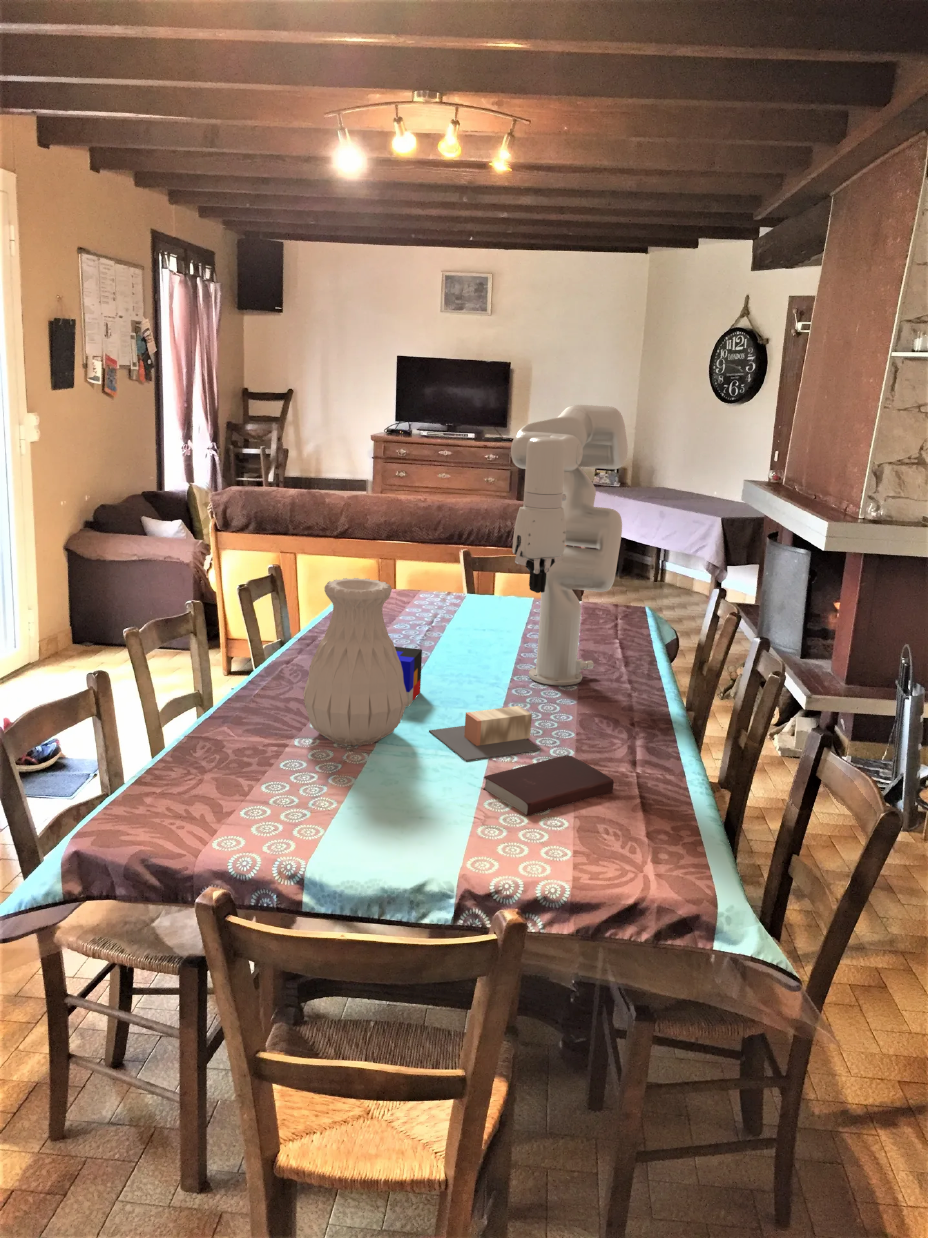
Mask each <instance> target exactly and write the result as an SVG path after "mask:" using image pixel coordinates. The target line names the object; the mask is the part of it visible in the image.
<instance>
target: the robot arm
mask: <svg viewBox="0 0 928 1238" xmlns="http://www.w3.org/2000/svg"><path fill="white" fill-rule="evenodd" d="M628 450H629V449H628V439H627V430H626V425H625V420H624V417H623V415H622V413H621V412H620V410H619V409H618V408H616V407H614V406H607V405H606V406H605V405H592V404H591V405H588V404H574V405H570V406H568V407H566V408H565V409H564V410H563V411H561V413H560V414H559V415H557V417H553V418H548V419H546V420H545V419H544V420H540V421H534V422H531V423H527V424H525V425H524V426H522V427H521V428H520V429H518V431H517V433H516V434H515V435H514V438H513V440H512V442H511V446H510V457H511V460H512V463H513V464H514V465H515V466H516V467H517V468H519V469H523V470H524V469H525V476H524V489H523V490H524V491H523V504H522V505H523V506H520V507H519V509H518V512H517V515H516V520H515V523H514V524H515V525H514V529H513V531H514V532H513V539H512V546H511V547H512V549H511V550H512V553H513V555H515V558H514V563H516V564H517V565H521V566H525V568H526V569H527V571H529V578H528V579H529V581H528V582H529V583H528V586H529V590H530V591H532V592H534V593H536V594H539V593H540V606H539V607H540V608H539V619H538V620H539V621H538V622H539V624H538V636H537V650H536V664H535V667H533V668H531V669H529V671H528V676H529V678H530V679H531V680H533V681H535V682H537V683H540V684H545V685H550V686H564V687H565V686H573V685H576V684H579V683H580V682H581V681H582V680H583V675H582V673H581V671H583V670H590V669H593V668H594V666H595V664H594V662H593V660H583V659H581V658H580V659H578V653H579V652H578V651H579V639H580V627H581V615H582V606H581V603H580V600H579V598H578V597H577V595H576V594H575V592H574V591H573V590H580V591H589V592H591V591H592V592H600V593H601V592H608V591H609V590H610V589H611V588H612V587H613V586H614V585H613V584H614V583H615V578H616V573H617V567H618V561H619V553H620V547H621V542H622V541H621V540H622V534H623V521H622V517H621V515H620V513H619V512H618V510H615V509H614V508H611V507H610V508H609V507H599V506H595V500H596V496H597V495H596V494H597V490H596V487H595V485H594V484H593V482H592V480H591V479H590V477H589V476H588V474H587V473H586V472H585V471H584V470H583V469H582V468H592V469H604V470H605V469H606V470H617V469H620V468H621V467H623V465H624V464H625V463H626V462H627V461H626V460H627V457H628V452H629V451H628Z"/></svg>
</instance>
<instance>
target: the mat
mask: <svg viewBox="0 0 928 1238" xmlns="http://www.w3.org/2000/svg"><path fill="white" fill-rule="evenodd" d="M428 733H430V734H431V735H432V736H433V737H435V738H436V739H437V740H438V741H440V742H441V743H442V744H444V745H445V746H446V747H447V748H449V749H450V750H451V751H452V750H453V751H452V752H453V753H455V754H456V755H457V754H458V755H457V756H458V757H459V758H461V759H462V760H463V759H464V760H463V761H465V762H471V761H476V759H478V760H484V759H491V758H497V757H505V756H510V755H517V754H524V753H531V752H536V751H537V752H538V751H541V748H540V747H539V746H537V745H535V744H534V743H533V742H531V741H530V740H528V738H527V739H520V740H513V741H506V742H499V743H492V744H485V745H478V746H476V745H475V744H473V743H472V742H471V741H469V740H468V739H467V738H465V737H464V735H465V725H458V726H451V727H450V726H449V727H445V728H437V729H430V730H428Z"/></svg>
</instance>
